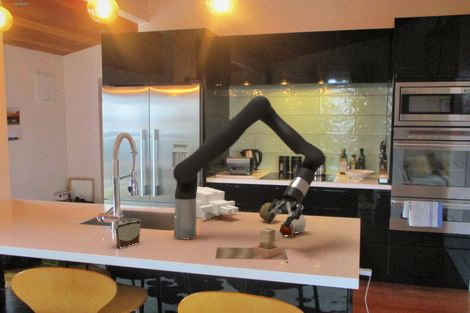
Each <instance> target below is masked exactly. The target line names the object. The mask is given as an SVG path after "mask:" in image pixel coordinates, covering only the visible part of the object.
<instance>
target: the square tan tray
mask: <svg viewBox="0 0 470 313" xmlns="http://www.w3.org/2000/svg"><path fill="white" fill-rule="evenodd" d="M252 248H253V253H254V254H257V255H260V256H264V257H267V258H269V257H273V256H276V255H279V254H282V248H283V246H279V245H276V244H275V248H274V249H270V250H266V249H262V248H260V244H258V245H254V246H252Z"/></svg>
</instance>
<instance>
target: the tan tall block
mask: <svg viewBox="0 0 470 313" xmlns="http://www.w3.org/2000/svg"><path fill="white" fill-rule="evenodd" d="M259 245H260V248H262V249H266V250H270V249H274V248H275V245H276V229H274V228H269V227H265V228H262V229H259Z"/></svg>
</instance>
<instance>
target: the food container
mask: <svg viewBox="0 0 470 313" xmlns="http://www.w3.org/2000/svg"><path fill="white" fill-rule="evenodd" d="M142 224H143V222H142V220H141V218H122V219H118V220H116V221H115V222H114V224H113V228H114V229H115V238H116V246H118V247H119V248H118V247H117V248H118V249H121V248H120V247H124V246H128V245H132V244H135V243H139V244H140V236H141V235H140V234H141V225H142ZM132 246H133V245H132ZM128 247H129V246H128ZM124 248H125V247H124Z"/></svg>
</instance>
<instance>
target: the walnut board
mask: <svg viewBox="0 0 470 313" xmlns="http://www.w3.org/2000/svg"><path fill="white" fill-rule="evenodd" d="M215 259H220V260H221V259H222V260H229V259H230V260H231V259H232V260H276V261H277V260H279V261H280V260H285V261H288V260H289V258H288V255H287V253H286V249H285V248H283V247H282V254H279V255H276V256H273V257H269V258H267V257H264V256H260V255H257V254H254V253H253V247H231V246H229V247H226V246H225V247H223V246H222V247H220V246H219V247H218V246H217V248H216V251H215Z"/></svg>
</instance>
